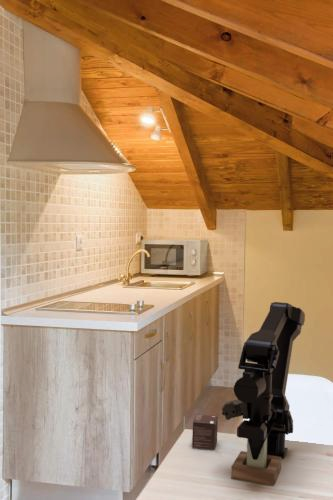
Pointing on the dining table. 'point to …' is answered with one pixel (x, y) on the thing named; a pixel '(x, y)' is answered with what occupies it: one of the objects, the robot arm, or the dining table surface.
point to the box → (204, 432)
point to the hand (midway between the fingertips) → (257, 455)
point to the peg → (261, 459)
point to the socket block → (256, 470)
